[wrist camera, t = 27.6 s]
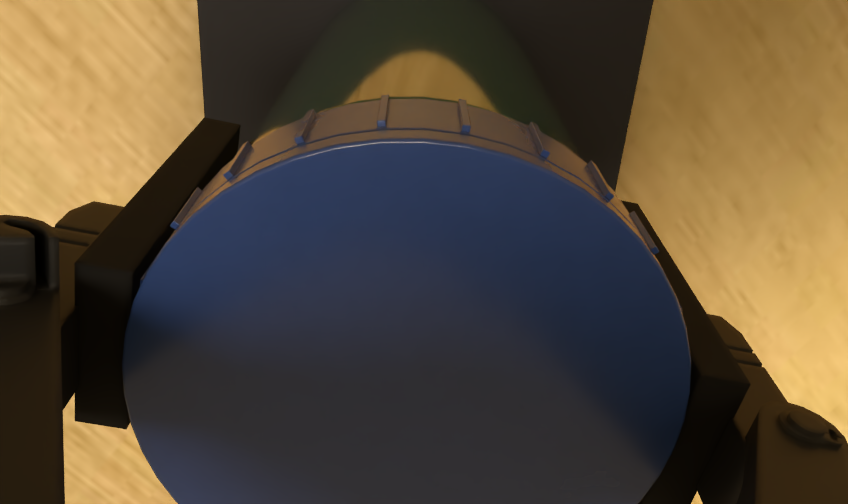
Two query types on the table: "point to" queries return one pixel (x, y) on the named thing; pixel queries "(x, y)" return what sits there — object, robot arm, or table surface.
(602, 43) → the mat
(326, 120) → the lid
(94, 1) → the table surface
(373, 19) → the jar
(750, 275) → the table surface
